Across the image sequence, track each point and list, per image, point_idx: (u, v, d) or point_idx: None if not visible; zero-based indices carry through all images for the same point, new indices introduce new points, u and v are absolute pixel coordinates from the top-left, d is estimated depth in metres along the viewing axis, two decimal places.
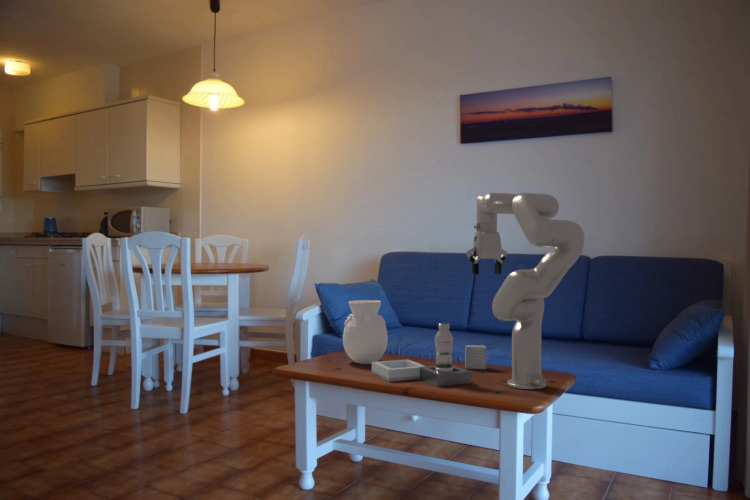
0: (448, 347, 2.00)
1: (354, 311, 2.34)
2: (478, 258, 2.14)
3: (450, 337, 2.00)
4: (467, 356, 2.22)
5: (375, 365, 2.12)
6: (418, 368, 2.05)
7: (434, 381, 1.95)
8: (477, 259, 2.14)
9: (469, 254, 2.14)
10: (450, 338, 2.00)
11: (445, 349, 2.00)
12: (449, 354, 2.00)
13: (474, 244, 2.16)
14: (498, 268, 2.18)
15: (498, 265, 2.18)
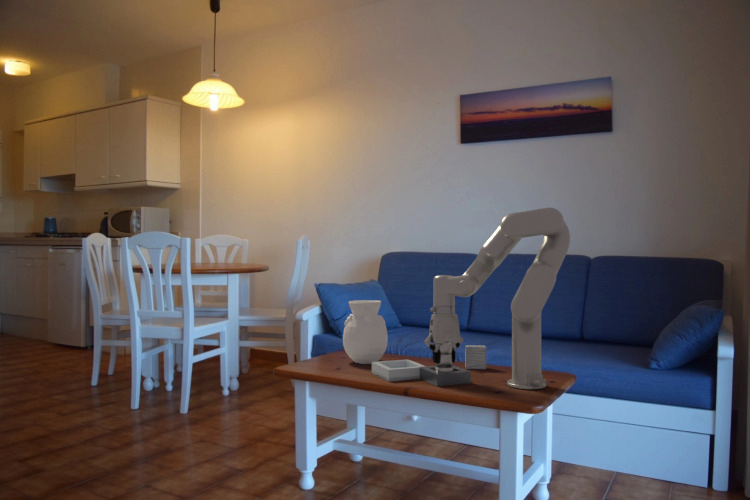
0: (448, 347, 2.00)
1: (354, 311, 2.34)
2: (437, 345, 2.00)
3: None
4: (467, 356, 2.22)
5: (375, 365, 2.12)
6: (418, 368, 2.05)
7: (434, 381, 1.95)
8: (437, 347, 2.00)
9: (428, 343, 1.99)
10: (450, 338, 2.00)
11: (445, 348, 2.00)
12: (449, 354, 2.00)
13: (430, 328, 2.01)
14: (452, 356, 2.02)
15: (452, 353, 2.02)
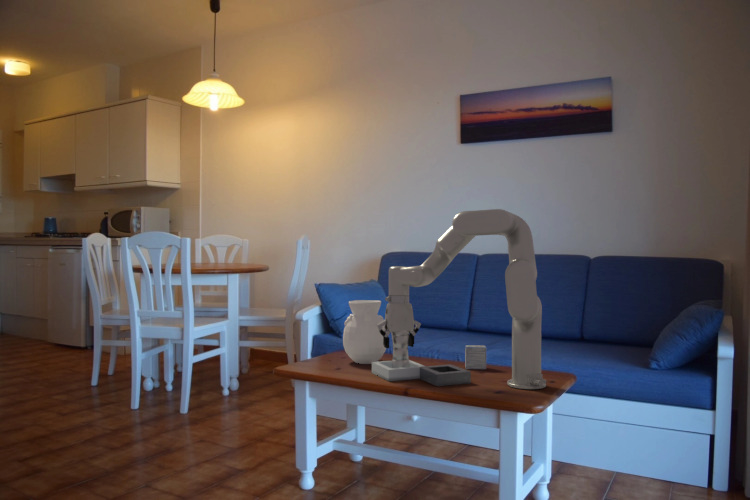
0: (404, 340, 2.09)
1: (354, 311, 2.34)
2: (389, 331, 2.08)
3: (406, 331, 2.09)
4: (467, 356, 2.22)
5: (375, 365, 2.12)
6: (418, 368, 2.05)
7: (434, 381, 1.95)
8: (388, 333, 2.08)
9: (379, 328, 2.08)
10: (406, 331, 2.09)
11: (401, 342, 2.09)
12: (405, 347, 2.09)
13: (385, 317, 2.10)
14: (411, 340, 2.12)
15: (411, 337, 2.12)
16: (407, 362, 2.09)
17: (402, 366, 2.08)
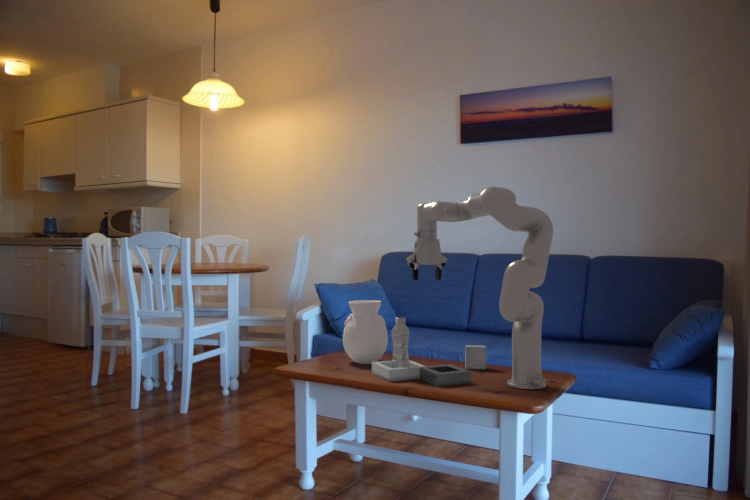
0: (404, 340, 2.09)
1: (354, 311, 2.34)
2: (418, 264, 2.20)
3: (406, 331, 2.09)
4: (467, 356, 2.22)
5: (375, 365, 2.12)
6: (418, 368, 2.05)
7: (434, 381, 1.95)
8: (417, 265, 2.20)
9: (409, 260, 2.20)
10: (406, 331, 2.09)
11: (401, 342, 2.09)
12: (405, 347, 2.09)
13: (414, 251, 2.22)
14: (438, 274, 2.24)
15: (438, 271, 2.24)
16: (407, 362, 2.09)
17: (402, 366, 2.08)
